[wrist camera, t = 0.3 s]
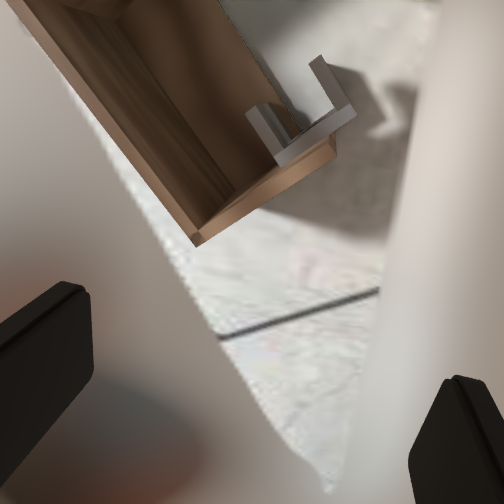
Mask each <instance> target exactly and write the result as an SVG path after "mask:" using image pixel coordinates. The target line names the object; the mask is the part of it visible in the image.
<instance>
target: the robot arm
mask: <svg viewBox="0 0 504 504" xmlns="http://www.w3.org/2000/svg"><path fill="white" fill-rule="evenodd" d="M90 303H91V302H90V295H89V293H87V292H86V290H85V288H84V287H83V286H82V285H78V284H73V283H69V282H65V281H61V282H59V283H57V284H55V285H54V286H53V287H51V288H50V289H49V290H47V291H45V292H44V293H43V294H41V295H40V296H39V297H37V298H36V299H34V300H33V301H32V302H30V303H28V304H27V305H26V306H24V307H23V308H21V309H20V310H19V311H17V312H16V313H14V314H13V315H11V316H10V317H9V318H7V319H6V320H4V321H3V322H2V323H0V487H1V486H2V485H3V484H4V483H5V481H6V480H7V479H8V478H9V476H10V475H11V474H12V473H13V472H14V471H15V469H16V468H17V467H18V466H19V465H20V463H21V462H22V461H23V460H24V459H25V457H26V456H27V455H28V454H29V453H30V451H31V450H32V449H33V447H35V445H36V444H37V443H38V442H39V441H40V439H41V438H42V437H43V436H44V435H45V433H46V432H47V431H48V430H49V429H50V427H51V426H52V425H53V424H54V423H55V421H56V420H57V419H58V418H59V417H60V415H61V414H62V413H63V412H64V411H65V409H66V408H67V407H68V406H69V404H70V403H71V402H72V401H73V400H74V399H75V397H76V396H77V395H78V394H79V393H80V391H81V390H82V389H83V388H84V387H85V385H86V384H87V383H88V382H89V380H90V379H91V377H92V374H93V370H94V364H93V363H94V362H93V342H92V322H91V304H90ZM408 467H409V473H410V478H411V483H412V488H413V493H414V498H415V502H416V504H504V419H503V417H502V416H501V414H500V412H499V410H498V408H497V406H496V404H495V402H494V400H493V398H492V396H491V394H490V392H489V390H488V389H487V387H486V385H485V383H484V382H483V381H481V380H477V379H473V378H469V377H464V376H460V375H454V376H453V377H452V378H451V379H445V380H444V381H443V383H442V385H441V387H440V389H439V391H438V393H437V396H436V398H435V400H434V402H433V404H432V406H431V408H430V410H429V412H428V415H427V417H426V419H425V421H424V423H423V425H422V427H421V429H420V432H419V434H418V436H417V438H416V440H415V442H414V444H413V446H412V448H411V450H410V453H409V458H408Z"/></svg>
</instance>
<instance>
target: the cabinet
mask: <svg viewBox="0 0 504 504" xmlns="http://www.w3.org/2000/svg"><path fill="white" fill-rule="evenodd" d="M5 1H6V2H7V3H8V5H9V6H10V7H11V8H12V10H13V11H14V12H15V14H16V15H17V16H18V17H19V19H20V20H21V21H22V23H23V24H24V25H25V27H26V28H27V29H28V30H29V32H30V33H31V34H32V36H33V37H34V38H35V40H36V41H37V42H38V43H39V45H40V46H41V47H42V49H43V50H44V51H45V52H46V54H47V55H48V56H49V58H50V59H51V60H52V62H53V63H54V64H55V65H56V67H57V68H58V69H59V71H60V72H61V73H62V74H63V76H64V77H65V78H66V80H67V81H68V82H69V84H70V85H71V86H72V87H73V89H74V90H75V91H76V93H77V94H78V95H79V97H80V98H81V99H82V100H83V102H84V103H85V104H86V106H87V107H88V108H89V109H90V111H91V112H92V113H93V115H94V116H95V117H96V119H97V120H98V121H99V122H100V124H101V125H102V126H103V128H104V129H105V130H106V131H107V133H108V134H109V135H110V137H111V138H112V139H113V141H114V142H115V143H116V144H117V146H118V147H119V148H120V150H121V151H122V152H123V154H124V155H125V156H126V157H127V159H128V160H129V161H130V163H131V164H132V165H133V166H134V168H135V169H136V170H137V172H138V173H139V174H140V176H141V177H142V178H143V179H144V181H145V182H146V183H147V185H148V186H149V187H150V189H151V190H152V191H153V192H154V194H155V195H156V196H157V198H158V199H159V200H160V201H161V203H162V204H163V205H164V207H165V208H166V209H167V211H168V212H169V213H170V214H171V216H172V217H173V218H174V220H175V221H176V222H177V223H178V225H179V226H180V227H181V229H182V230H183V231H184V233H185V234H186V235H187V236H188V238H189V239H190V240H191V242H192V243H193V244H194V246H195V247H196V248H197V247H198V246H200V245H201V244H203V243H204V242H206V241H207V240H209V239H210V238H212V237H214V236H215V235H217V234H218V233H220V232H221V231H223V230H224V229H226V228H227V227H229V226H230V225H232V224H233V223H235V222H237V221H238V220H240V219H241V218H243V217H244V216H246V215H247V214H249V213H250V212H252V211H253V210H255V209H256V208H258V207H260V206H261V205H263V204H264V203H266V202H267V201H269V200H270V199H272V198H273V197H275V196H276V195H278V194H279V193H281V192H283V191H284V190H286V189H287V188H289V187H290V186H292V185H293V184H295V183H296V182H298V181H299V180H301V179H303V178H304V177H306V176H307V175H309V174H310V173H312V172H313V171H315V170H316V169H318V168H319V167H321V166H322V165H324V164H326V163H327V162H329V161H330V160H332V159H333V158H335V157H336V156H337V152H336V138H335V133H334V131H335V130H337V129H338V128H339V127H341V126H342V125H344V124H345V123H347V122H348V121H350V120H351V119H353V118H354V117H356V116H357V114H356V113H355V111H354V109H353V107H352V106H351V104H350V102H349V101H348V99H347V97H346V96H345V94H344V92H343V91H342V89H341V87H340V86H339V84H338V82H337V81H336V79H335V77H334V75H333V74H332V72H331V70H330V69H329V67H328V65H327V64H326V62H325V60H324V59H323V57H322V55H319V56H318V57H317V58H315V59H314V60H313V61H312V62H310V63H309V66H310V68H311V69H312V71H313V72H314V74H315V76H316V77H317V79H318V81H319V82H320V84H321V86H322V87H323V89H324V91H325V92H326V94H327V96H328V97H329V99H330V101H331V102H332V104H333V105H334V107H335V108H334V109H332V110H331V111H330V112H328V113H327V114H325V115H324V116H323V117H321V118H320V119H318V120H317V121H315V122H314V123H313V124H311V125H310V126H308V127H307V128H306V129H304V130H303V131H301V130H300V129H299V127H298V126H297V124H296V123H295V121H294V119H293V118H292V116H291V115H290V113H289V112H288V110H287V108H286V107H285V105H284V104H283V102H282V101H281V99H280V98H279V96H278V94H277V93H276V91H275V90H274V88H273V87H272V85H271V83H270V82H269V80H268V79H267V77H266V76H265V74H264V72H263V71H262V69H261V68H260V66H259V65H258V63H257V61H256V60H255V58H254V57H253V55H252V54H251V52H250V51H249V49H248V47H247V46H246V44H245V43H244V41H243V40H242V38H241V36H240V35H239V33H238V32H237V30H236V29H235V27H234V25H233V24H232V22H231V21H230V19H229V18H228V16H227V15H226V13H225V11H224V10H223V8H222V7H221V5H220V4H219V2H218V0H5Z"/></svg>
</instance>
